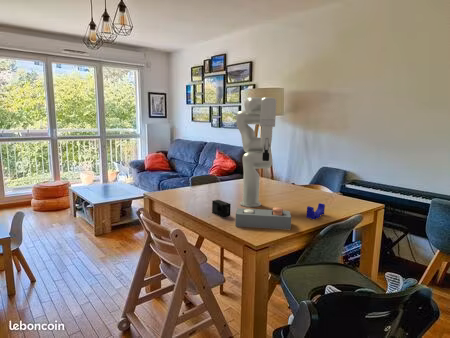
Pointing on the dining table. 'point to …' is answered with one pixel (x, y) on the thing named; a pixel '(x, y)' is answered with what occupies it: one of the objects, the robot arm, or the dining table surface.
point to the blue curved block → (317, 213)
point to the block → (263, 219)
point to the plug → (249, 211)
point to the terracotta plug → (277, 211)
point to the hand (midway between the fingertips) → (265, 160)
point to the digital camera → (221, 208)
